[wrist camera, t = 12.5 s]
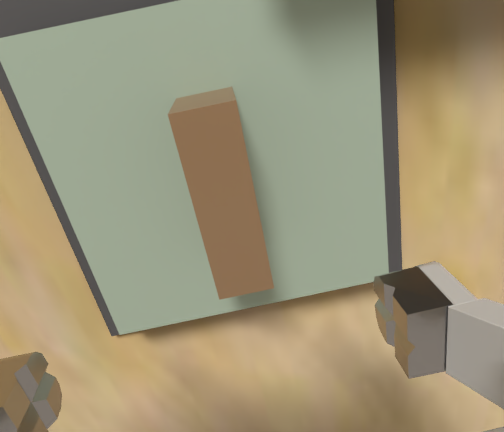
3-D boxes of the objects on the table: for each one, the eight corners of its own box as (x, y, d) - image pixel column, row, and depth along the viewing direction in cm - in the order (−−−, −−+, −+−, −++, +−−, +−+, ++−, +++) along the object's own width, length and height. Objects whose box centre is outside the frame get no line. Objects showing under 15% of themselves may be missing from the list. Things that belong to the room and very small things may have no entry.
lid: (375, 259, 24) (418, 321, 19) (126, 311, 24) (103, 386, 19) (357, -34, 17) (415, -59, 12) (14, 38, 17) (-67, 42, 12)
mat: (398, 270, 25) (402, 275, 24) (113, 330, 25) (111, 336, 24) (386, -80, 17) (391, -83, 16) (-30, 8, 17) (-37, 8, 17)
